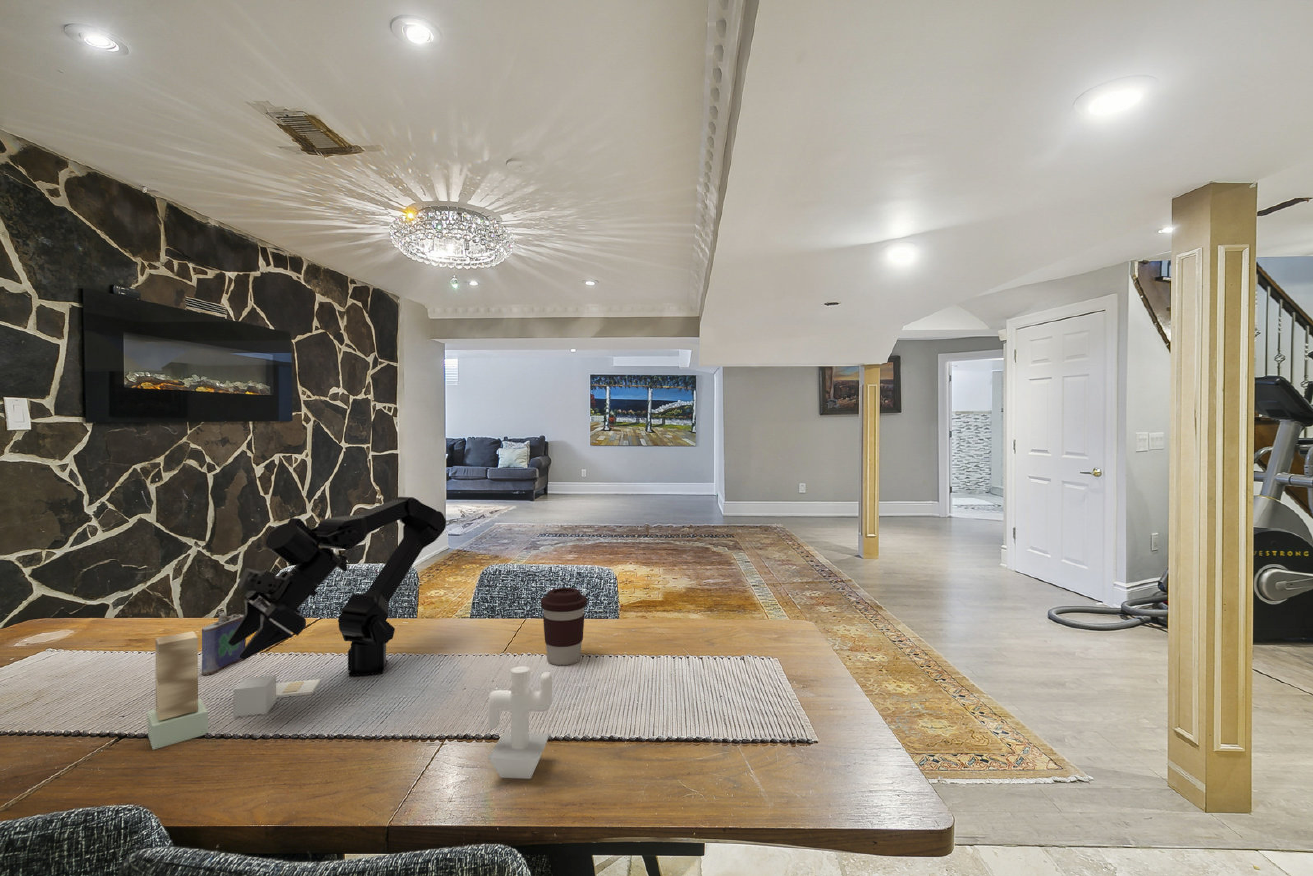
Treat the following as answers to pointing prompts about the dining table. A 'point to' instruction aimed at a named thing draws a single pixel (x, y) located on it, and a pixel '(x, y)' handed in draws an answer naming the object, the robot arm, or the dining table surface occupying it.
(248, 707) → the grey cube
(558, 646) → the coffee cup
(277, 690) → the card
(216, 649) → the flask
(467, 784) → the dining table surface
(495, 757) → the figurine
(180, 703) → the maple pillar
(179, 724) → the sage base block
